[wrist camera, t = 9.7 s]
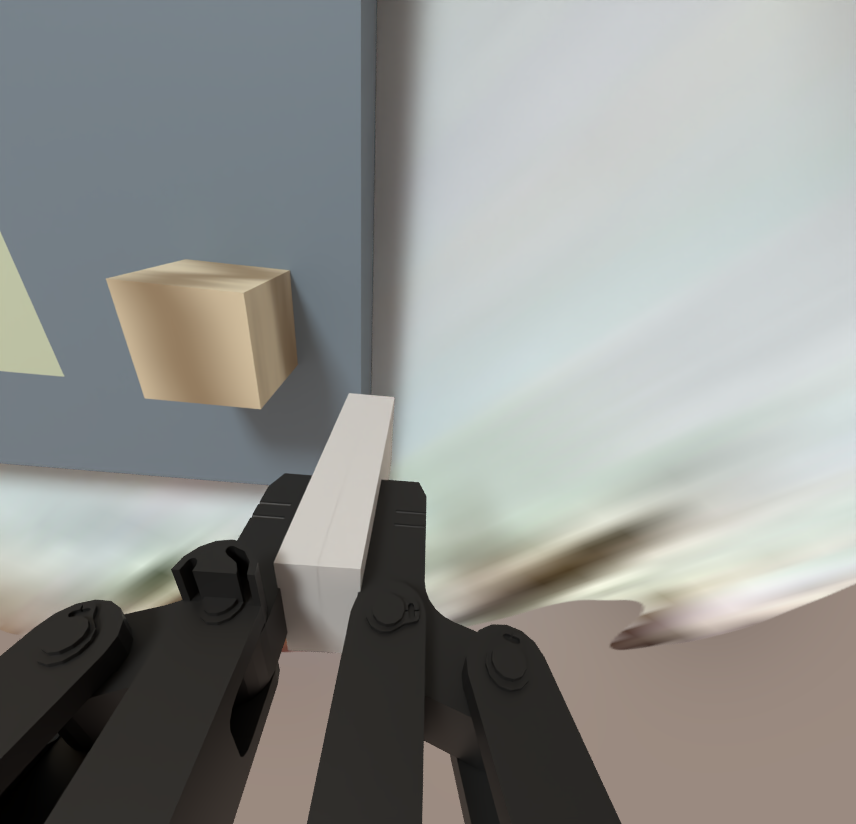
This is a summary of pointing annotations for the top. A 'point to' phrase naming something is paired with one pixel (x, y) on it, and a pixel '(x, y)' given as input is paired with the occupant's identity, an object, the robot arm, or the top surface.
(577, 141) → the top surface
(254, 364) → the maple block
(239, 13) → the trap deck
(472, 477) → the top surface
